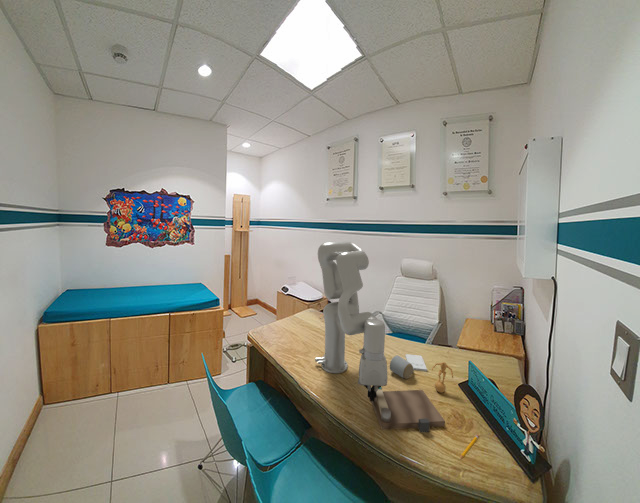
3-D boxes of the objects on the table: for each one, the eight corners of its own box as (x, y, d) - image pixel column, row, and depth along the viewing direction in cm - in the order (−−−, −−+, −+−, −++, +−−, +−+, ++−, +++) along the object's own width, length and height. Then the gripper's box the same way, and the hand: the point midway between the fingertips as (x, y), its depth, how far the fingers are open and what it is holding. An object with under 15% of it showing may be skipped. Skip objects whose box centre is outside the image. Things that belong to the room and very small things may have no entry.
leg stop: (420, 432, 82) (421, 422, 82) (418, 428, 84) (418, 419, 83) (429, 432, 82) (429, 422, 82) (426, 428, 84) (427, 418, 84)
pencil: (479, 437, 81) (479, 435, 81) (460, 461, 73) (461, 459, 73) (476, 436, 81) (476, 434, 81) (458, 459, 73) (458, 457, 73)
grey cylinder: (404, 382, 108) (405, 365, 107) (388, 373, 115) (389, 357, 114) (417, 374, 115) (418, 358, 114) (402, 366, 121) (403, 351, 120)
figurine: (427, 389, 104) (429, 362, 103) (432, 382, 108) (434, 356, 107) (449, 398, 98) (451, 370, 97) (453, 391, 103) (455, 364, 101)
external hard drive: (421, 358, 129) (427, 372, 117) (405, 356, 130) (409, 370, 118) (421, 355, 129) (427, 369, 116) (405, 353, 130) (409, 367, 118)
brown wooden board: (381, 429, 83) (381, 424, 83) (368, 396, 99) (369, 391, 99) (444, 426, 85) (445, 421, 85) (422, 394, 101) (422, 389, 100)
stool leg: (391, 422, 83) (392, 414, 83) (382, 422, 84) (382, 414, 83) (380, 391, 99) (381, 384, 99) (372, 391, 99) (373, 384, 99)
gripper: (354, 357, 88) (352, 405, 90) (396, 359, 88) (394, 406, 90) (352, 347, 96) (351, 391, 98) (391, 348, 95) (389, 392, 97)
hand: (371, 398), depth 94 cm, fingers closed
